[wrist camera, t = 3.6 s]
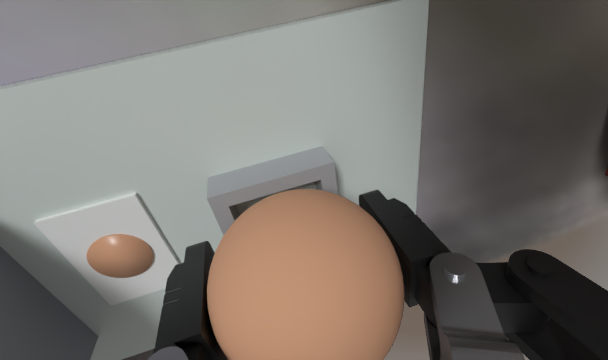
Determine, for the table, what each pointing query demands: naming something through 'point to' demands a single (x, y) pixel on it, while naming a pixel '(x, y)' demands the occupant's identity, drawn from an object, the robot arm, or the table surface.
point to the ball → (305, 282)
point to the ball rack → (189, 163)
